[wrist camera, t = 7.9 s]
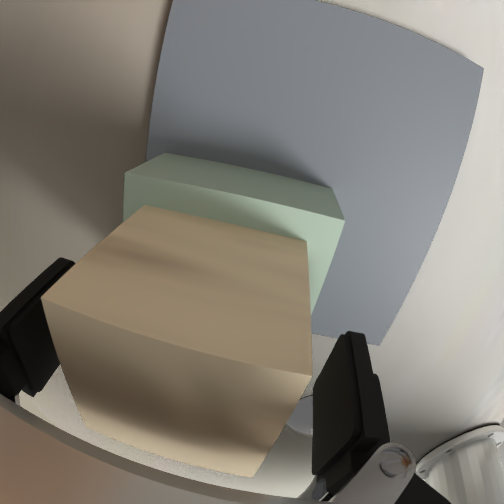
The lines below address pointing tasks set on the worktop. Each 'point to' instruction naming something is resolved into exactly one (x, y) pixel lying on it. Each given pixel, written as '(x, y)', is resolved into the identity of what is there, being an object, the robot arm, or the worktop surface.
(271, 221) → the sage slab
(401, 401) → the worktop surface
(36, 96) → the worktop surface
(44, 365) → the robot arm
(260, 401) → the maple cube
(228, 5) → the building board
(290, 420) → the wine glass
